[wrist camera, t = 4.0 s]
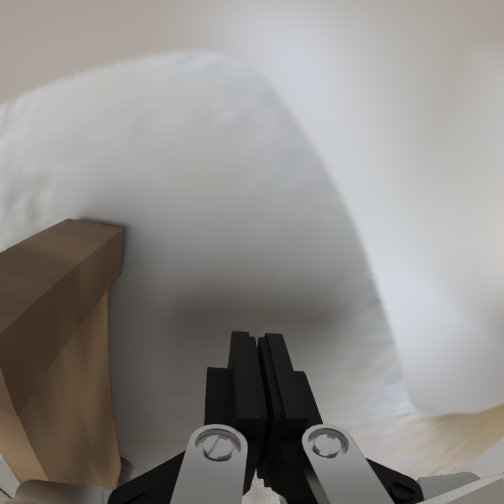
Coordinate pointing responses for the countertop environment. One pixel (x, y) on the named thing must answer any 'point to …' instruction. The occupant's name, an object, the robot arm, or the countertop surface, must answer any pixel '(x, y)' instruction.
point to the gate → (59, 355)
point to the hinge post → (124, 472)
